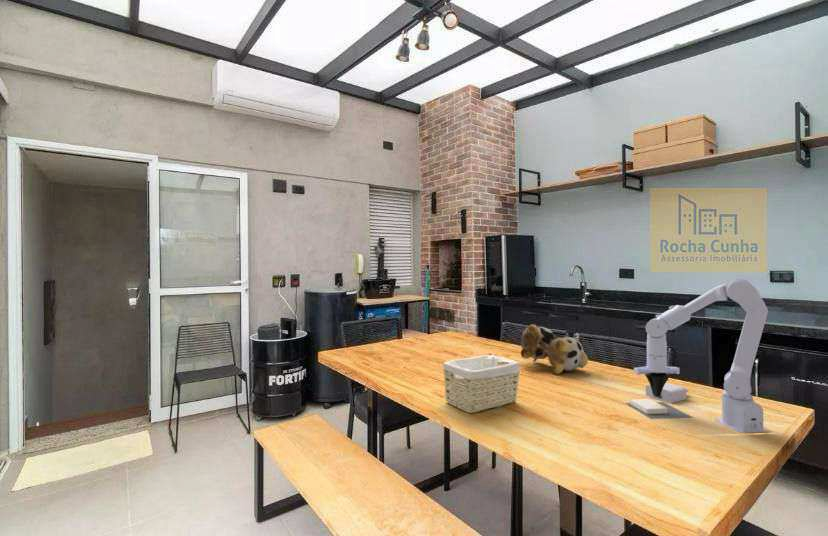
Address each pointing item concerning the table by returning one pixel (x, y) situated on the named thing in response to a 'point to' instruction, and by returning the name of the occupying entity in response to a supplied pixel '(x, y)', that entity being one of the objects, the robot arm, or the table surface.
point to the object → (481, 382)
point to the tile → (648, 406)
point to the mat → (671, 414)
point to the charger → (669, 393)
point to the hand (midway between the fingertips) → (656, 395)
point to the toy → (553, 349)
